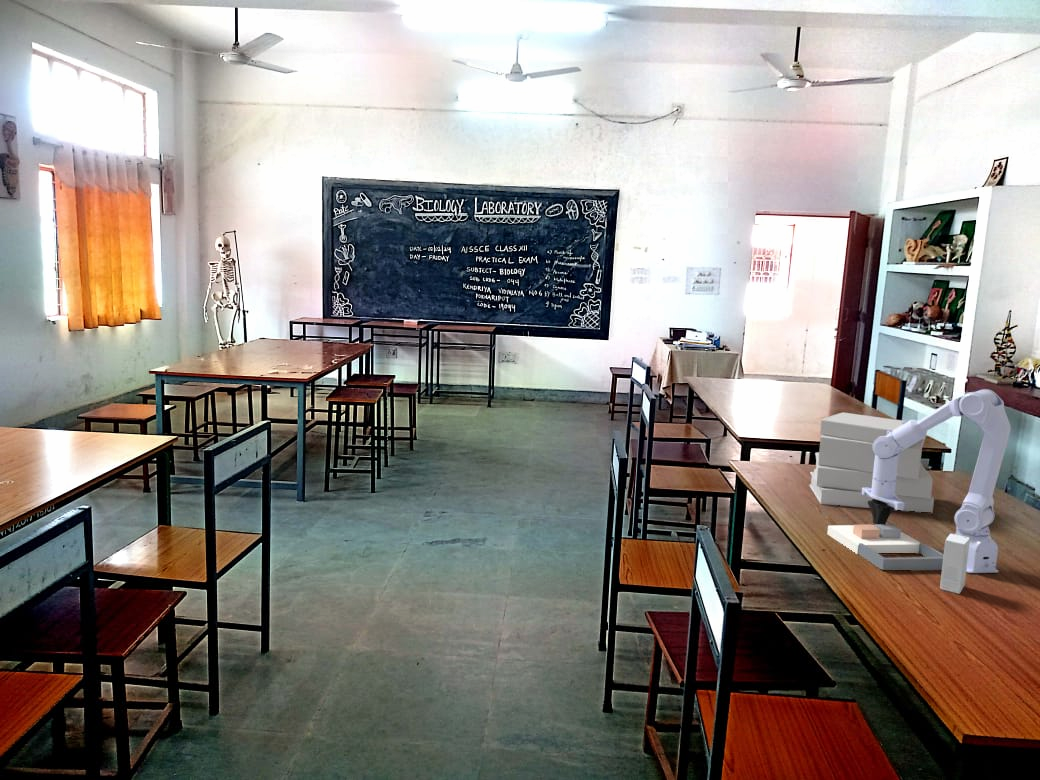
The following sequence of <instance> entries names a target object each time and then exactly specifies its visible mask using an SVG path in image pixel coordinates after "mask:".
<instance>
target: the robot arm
mask: <svg viewBox="0 0 1040 780" xmlns="http://www.w3.org/2000/svg"><path fill="white" fill-rule="evenodd" d="M953 417H966V418H968V419H970V420H971V421H973V422H974V423H976V424H977V425H978V426H979V428H980V429H981V430H982V431H983V433H984V434H983V435H982V436H983V437H982V441H981V444H980V448H979V452H978V455H977V459H976V463H975V466H974V471H973V474H972V478H971V481H970V486H969V489H968V492H967V495H966V496H965V498H964V499H963V501H962V505H961V506H960V508H959V509H958V510H957V511H956V512H955V514H954V517H953V519H954V520H953V521H954V524H955V527H956V528H955V534H956V535H960V536H965V537H969V538H970V543H969V551H968V560H967V568H966V573H969V574H982V573H983V574H987V573H988V574H989V573H990V574H992V573H994V574H995V573H996V574H997V573H999V570H998V569H997V561H998V560H997V559H998V554H999V546H998V544H997V542H996V541H995V540H993V538H992V537H991V531H990V528H989V525H991V524H992V523H993V522H994V520H995V512H994V503H995V500H994V497H993V495H994V491H995V488H996V483H997V481H998V477H999V473H1000V469H1001V467H1002V463H1003V459H1004V455H1005V452H1006V448H1007V444H1008V441H1009V438H1010V434H1011V427H1012V426H1011V424H1010V420H1009V417H1008V415H1007V413H1006V410H1005V403H1004V400H1002V398H1001V397H1000V396H999V395H998V393H996V392H995V391H993V390H991V389H987V388H983V389H979V390H977V391H971V392H967V393H965V394H963V395H962V396H959V397H956V398H954V399H952V400H949V401H947V402H946V403H945V404H942V405H941V406H939V407H938V408H937V409H935V410H933V411H932V412H930V413H928V414H927V415H926V416H924V417H922V418H921V419H919V420H917V419H909V420H908V419H905V420H902V421H903V422H902V424H903V425H901V426H899V427H898V428H896V429H894V430H893V431H892V430H889V431H887V435H886V436H880V437H878V438H877V439H876V440H875V441H874V442H873V445H872V448H873V452H874V453H875V461H874V470H873V479H872V489H871V488H869V487H864V488H862V494H863V495H867V496H869V497H871V498H873V500H872V501H868V505H869V507H870V508H869V509H870V512H871V515H872V521H873V525H874V526H875V524H887V521H888V519H889V517H890V515H891V514H892V513H893V512H894V511H897V510H904V503H903V502H901V501H900V500H899V499H898V498H897V495H895V486H896V476H897V467H898V456H899V454H900V453H901V452H902V451H903V450H905V449H906V448H908V447H910V446H912V445H913V444H915V443H917V442H919V441H920V440H922V439H924V438H925V439H926V437H927V433H928V431H929V430H931V429H933V428H935V427H937V426H938V425H940V424H942V423H944V422H946V421H947V420H949V419H951V418H953ZM894 509H896V510H894Z"/></svg>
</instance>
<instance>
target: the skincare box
mask: <svg viewBox="0 0 1040 780" xmlns="http://www.w3.org/2000/svg"><path fill="white" fill-rule="evenodd" d="M969 543H970V538H969V537H965V536H960V535H956V533H949V535H947V537H946V539H945V541H944V548H943V554H944V556H943V565H942V570H941V576H940V584H939V589H940V590H943V591H946V592H950V593H953V594H958V595H959V594H961V592H962V590H963V589H964V587H965V584H966V576H967V575H966V574H967V572H966V568H967V560H968V551H969Z"/></svg>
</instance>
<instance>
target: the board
mask: <svg viewBox="0 0 1040 780" xmlns="http://www.w3.org/2000/svg"><path fill="white" fill-rule="evenodd" d="M854 525H855V524H853V525H849V524H848V525H847V524H845V525H843V524H841V525H840V524H839V525H838V524H837V525H835V524H834V525H828V526H827V533H826V534H827V535H828V536H830V537H831V538H832V539H833V540H835V541H837V542H838V543H839V544H841V545H842V544H843V545H842V546H844V547H845V546H846V548H847V549H848V548H849V549H848V550H850V551H851V550H852V552H853V553H854V552H855V553H854V554H856V555H858V548H859V543H862V544H864V545H865V546H867V547H868V548H870V549H872V550H873V551H875V552H876V553H916V554H919V545H920V541H918V540H917V539H914V538H913V537H911V536H909V535H908V534H906V533H904V532H902V531H901V535H900V538H885V539H882V538H881V537H879V539H861V538H859V537H857V536H856V535H854V534H853V527H854ZM872 525H873V526H874V524H872Z"/></svg>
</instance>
